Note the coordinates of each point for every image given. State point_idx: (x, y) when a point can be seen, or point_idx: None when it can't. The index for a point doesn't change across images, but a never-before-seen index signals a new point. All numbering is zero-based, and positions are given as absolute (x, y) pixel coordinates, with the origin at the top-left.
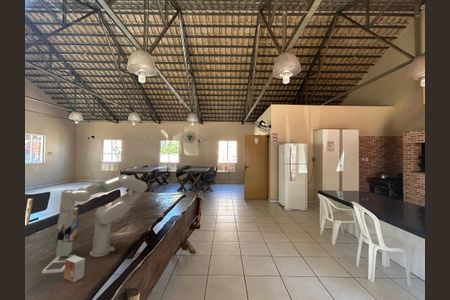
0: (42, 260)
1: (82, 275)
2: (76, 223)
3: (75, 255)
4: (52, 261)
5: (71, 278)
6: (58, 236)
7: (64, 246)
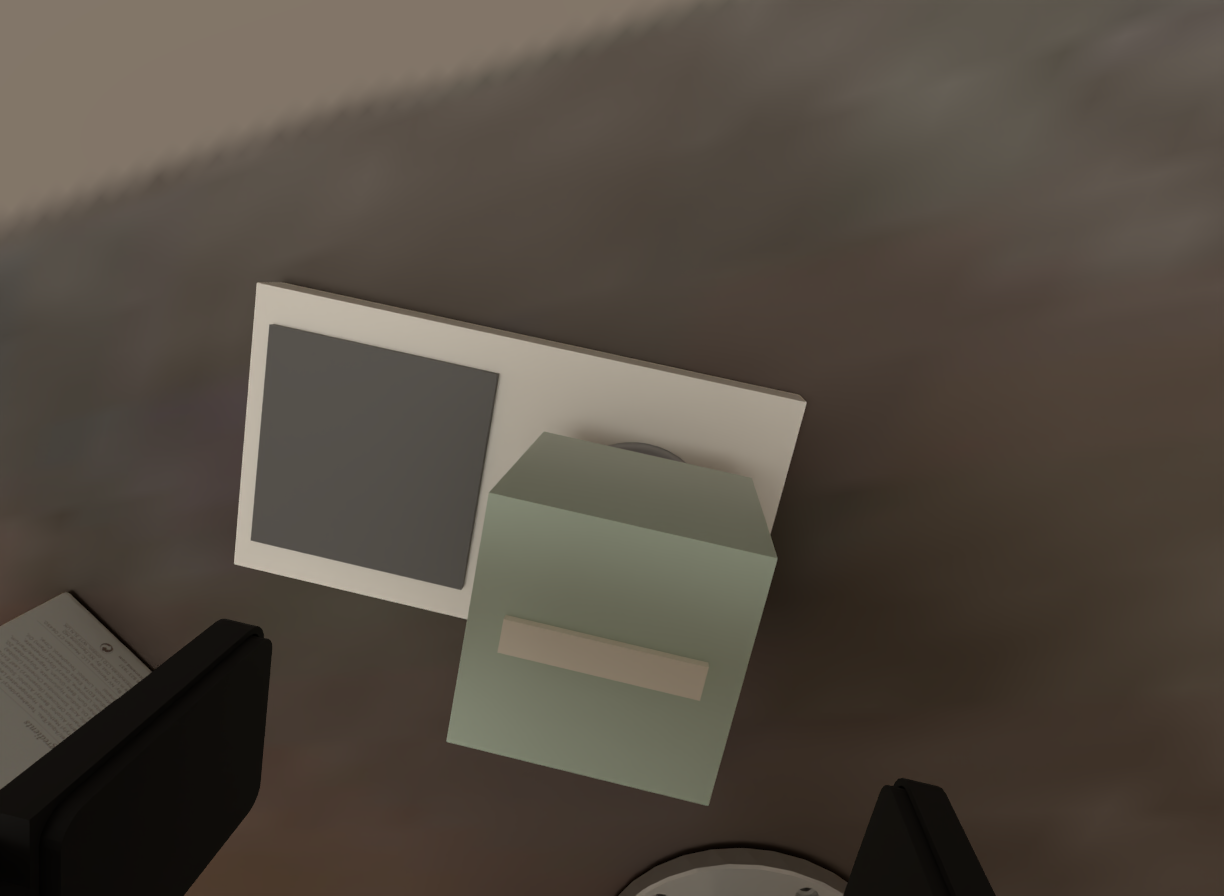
0: (811, 149)
1: None
2: None
3: None
4: (577, 360)
5: None
6: (122, 724)
7: (463, 659)
